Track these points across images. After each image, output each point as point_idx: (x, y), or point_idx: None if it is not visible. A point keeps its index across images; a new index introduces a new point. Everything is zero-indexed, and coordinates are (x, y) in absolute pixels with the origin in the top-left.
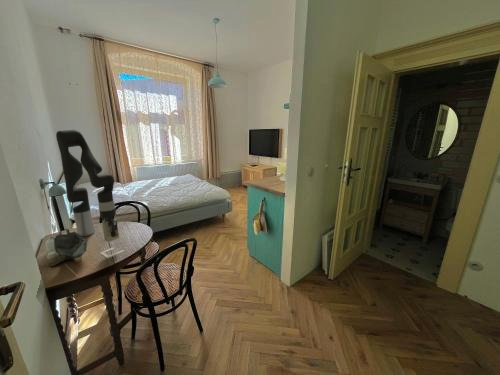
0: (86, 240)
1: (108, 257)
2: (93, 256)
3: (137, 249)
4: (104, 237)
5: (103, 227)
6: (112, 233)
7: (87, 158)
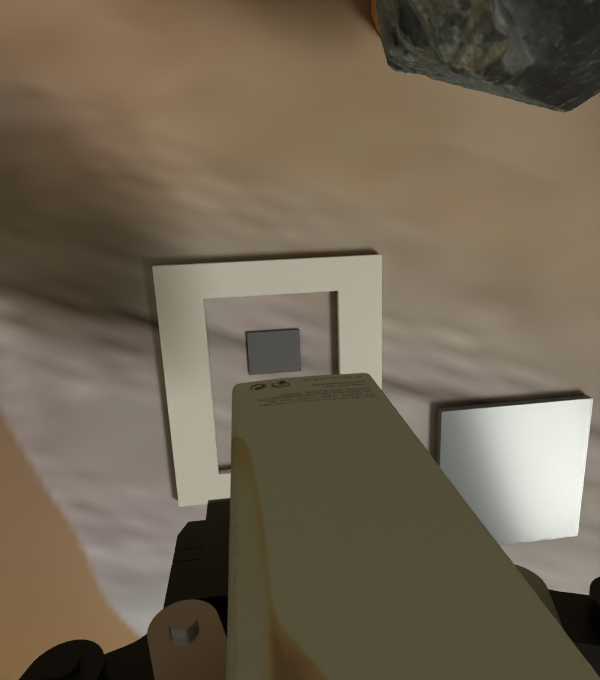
0: (452, 28)
1: (157, 279)
2: (365, 174)
3: (96, 570)
4: (380, 394)
5: (457, 566)
6: (183, 571)
7: None
